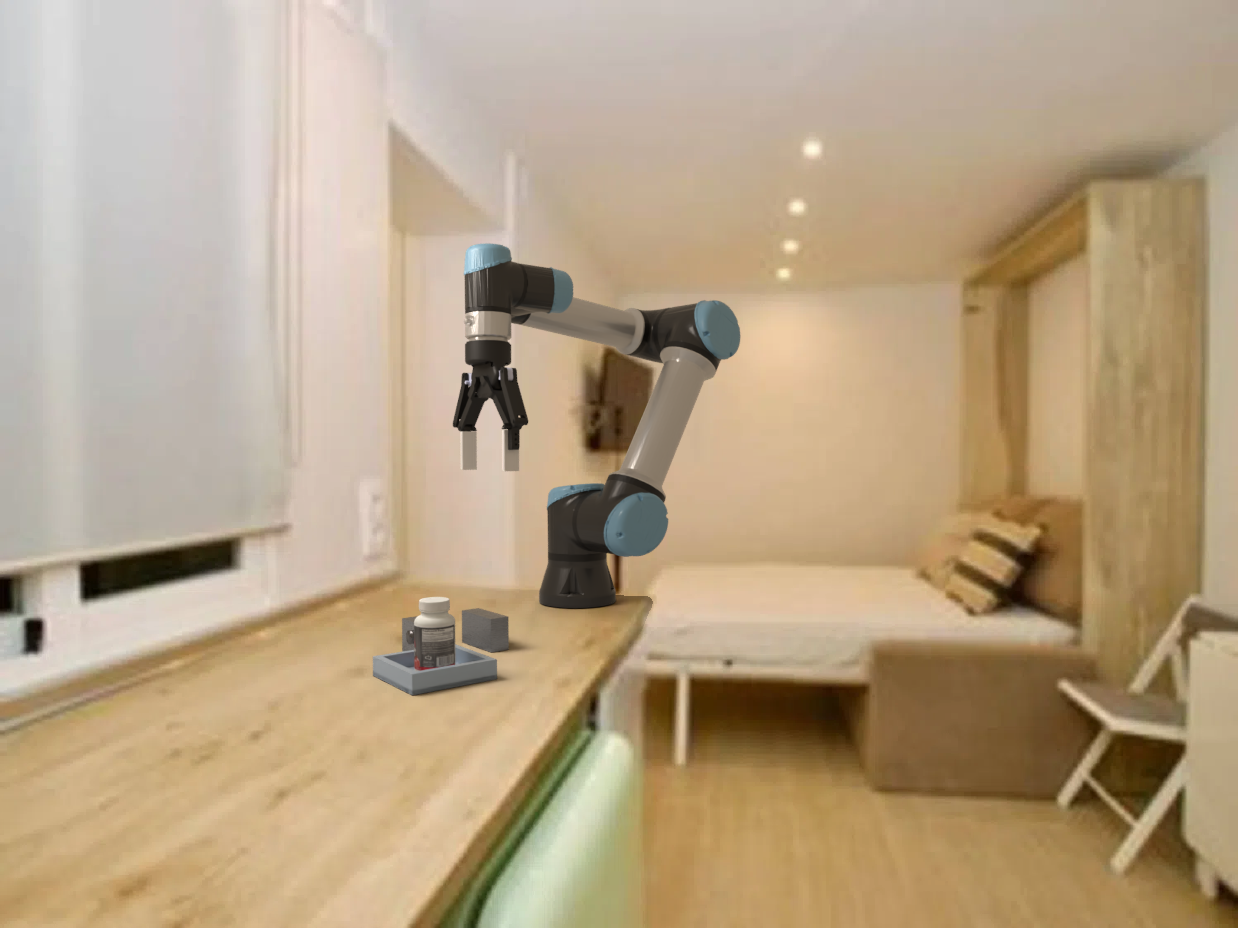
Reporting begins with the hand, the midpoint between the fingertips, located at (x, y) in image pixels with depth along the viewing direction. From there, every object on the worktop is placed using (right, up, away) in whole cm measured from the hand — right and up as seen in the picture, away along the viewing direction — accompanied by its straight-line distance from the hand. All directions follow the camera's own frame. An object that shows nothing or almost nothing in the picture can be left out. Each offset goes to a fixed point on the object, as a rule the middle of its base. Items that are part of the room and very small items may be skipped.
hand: (488, 470), depth 143 cm
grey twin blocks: (-3, -27, -12) cm, 30 cm away
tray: (-3, -27, -28) cm, 39 cm away
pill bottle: (-3, -27, -28) cm, 39 cm away
